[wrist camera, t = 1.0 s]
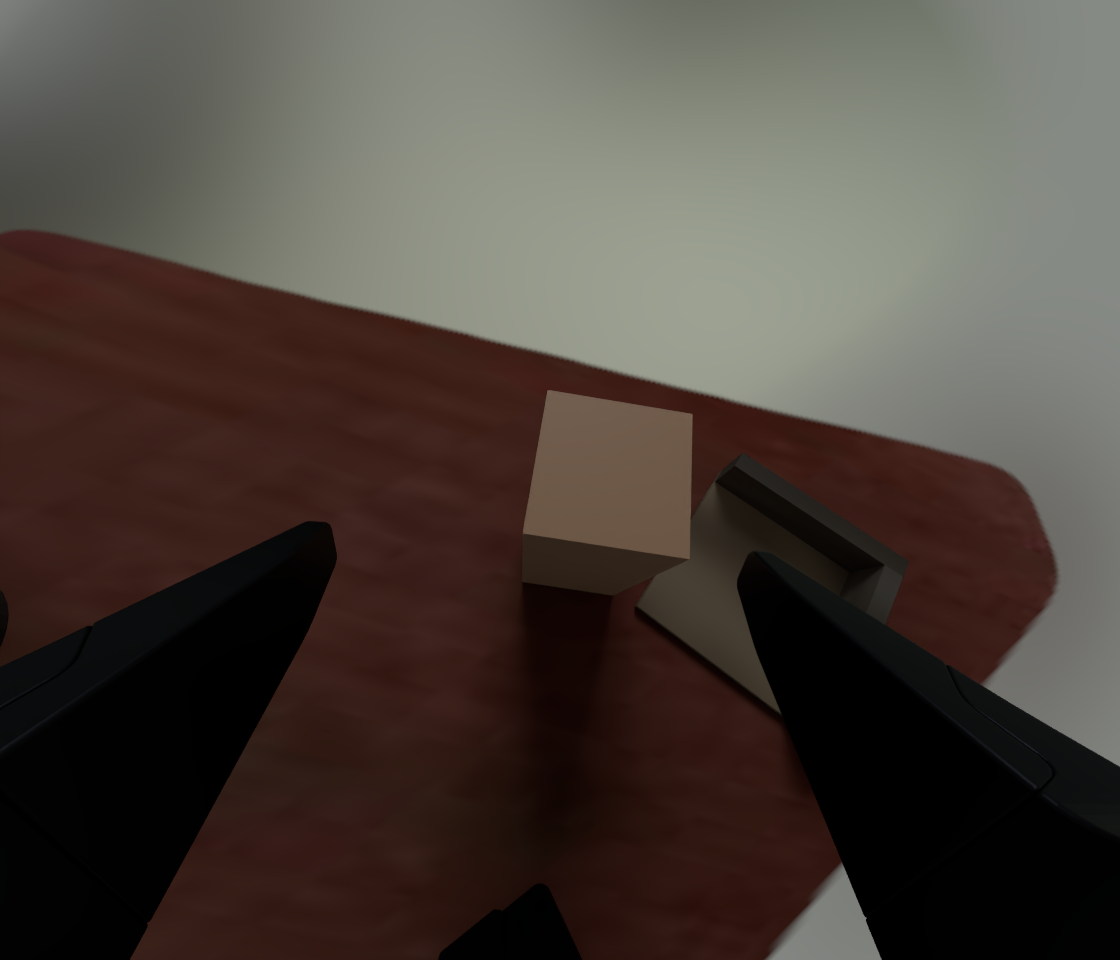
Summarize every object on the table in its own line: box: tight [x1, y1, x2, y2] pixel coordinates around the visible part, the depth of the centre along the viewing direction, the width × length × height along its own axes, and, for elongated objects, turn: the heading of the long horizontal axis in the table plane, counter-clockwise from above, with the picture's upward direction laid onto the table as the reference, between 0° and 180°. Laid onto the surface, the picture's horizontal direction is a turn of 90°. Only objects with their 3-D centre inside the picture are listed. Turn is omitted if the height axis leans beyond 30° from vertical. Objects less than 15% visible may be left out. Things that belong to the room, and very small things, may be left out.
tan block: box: [522, 390, 692, 596], centre depth 18 cm, size 5×5×11 cm
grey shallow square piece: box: [635, 453, 909, 716], centre depth 22 cm, size 10×10×3 cm
